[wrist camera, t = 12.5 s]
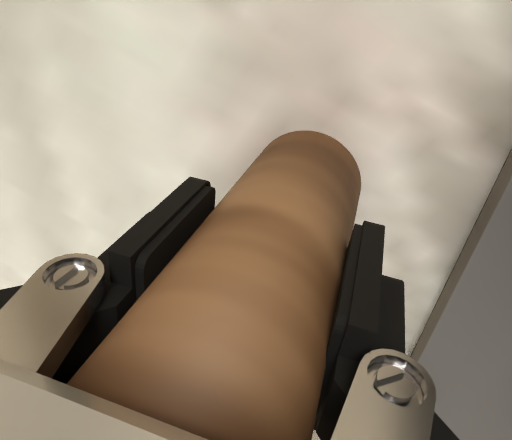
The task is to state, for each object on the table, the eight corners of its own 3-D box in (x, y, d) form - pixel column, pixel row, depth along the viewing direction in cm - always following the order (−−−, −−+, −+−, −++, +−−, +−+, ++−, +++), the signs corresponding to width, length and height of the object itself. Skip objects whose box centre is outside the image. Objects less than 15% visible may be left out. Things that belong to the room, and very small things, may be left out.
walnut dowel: (346, 240, 16) (253, 675, 6) (250, 214, 16) (22, 558, 7) (374, 144, 14) (302, 570, 4) (262, 120, 14) (-50, 416, 4)
